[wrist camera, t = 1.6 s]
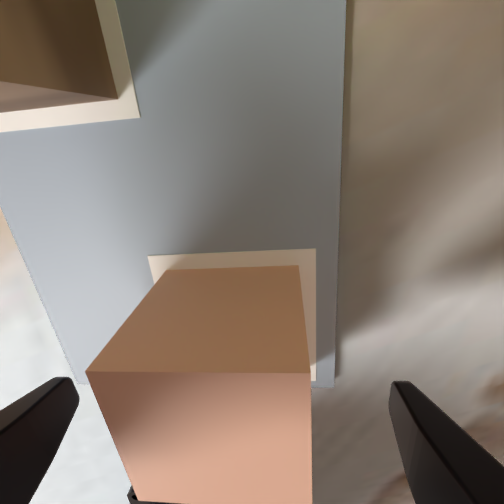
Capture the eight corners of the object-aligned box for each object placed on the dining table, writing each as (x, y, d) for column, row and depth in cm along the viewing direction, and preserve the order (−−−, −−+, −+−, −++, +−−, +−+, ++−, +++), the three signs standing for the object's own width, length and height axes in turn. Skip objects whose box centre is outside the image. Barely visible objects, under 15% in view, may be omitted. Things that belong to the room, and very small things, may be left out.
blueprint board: (332, 379, 12) (334, 388, 11) (73, 376, 13) (66, 384, 13) (350, -279, 5) (356, -312, 5) (-157, -147, 7) (-185, -165, 6)
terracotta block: (301, 370, 11) (312, 512, 7) (188, 369, 12) (138, 500, 8) (298, 265, 9) (310, 373, 5) (166, 270, 10) (85, 371, 6)
